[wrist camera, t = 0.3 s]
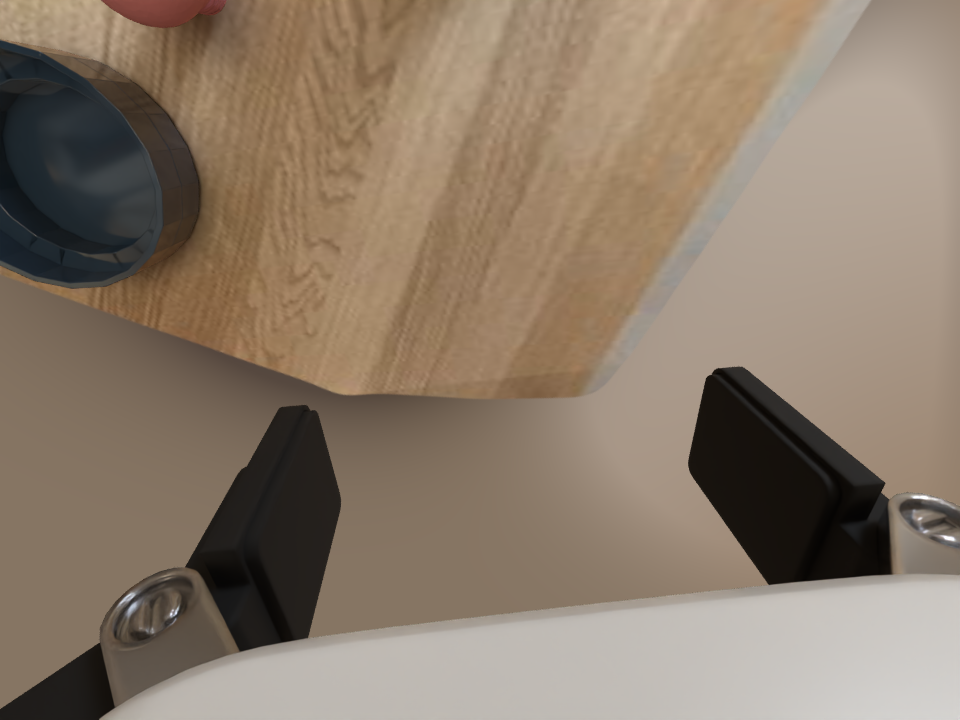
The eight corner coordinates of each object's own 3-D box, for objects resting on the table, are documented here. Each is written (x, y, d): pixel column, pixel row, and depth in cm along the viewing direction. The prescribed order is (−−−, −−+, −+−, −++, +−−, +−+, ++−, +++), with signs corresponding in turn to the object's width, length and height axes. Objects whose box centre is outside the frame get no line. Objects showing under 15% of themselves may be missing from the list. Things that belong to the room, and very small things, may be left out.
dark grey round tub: (-69, 55, 35) (-169, 43, 29) (160, 47, 36) (106, 33, 30) (42, 271, 43) (-20, 294, 37) (226, 260, 44) (193, 281, 38)
